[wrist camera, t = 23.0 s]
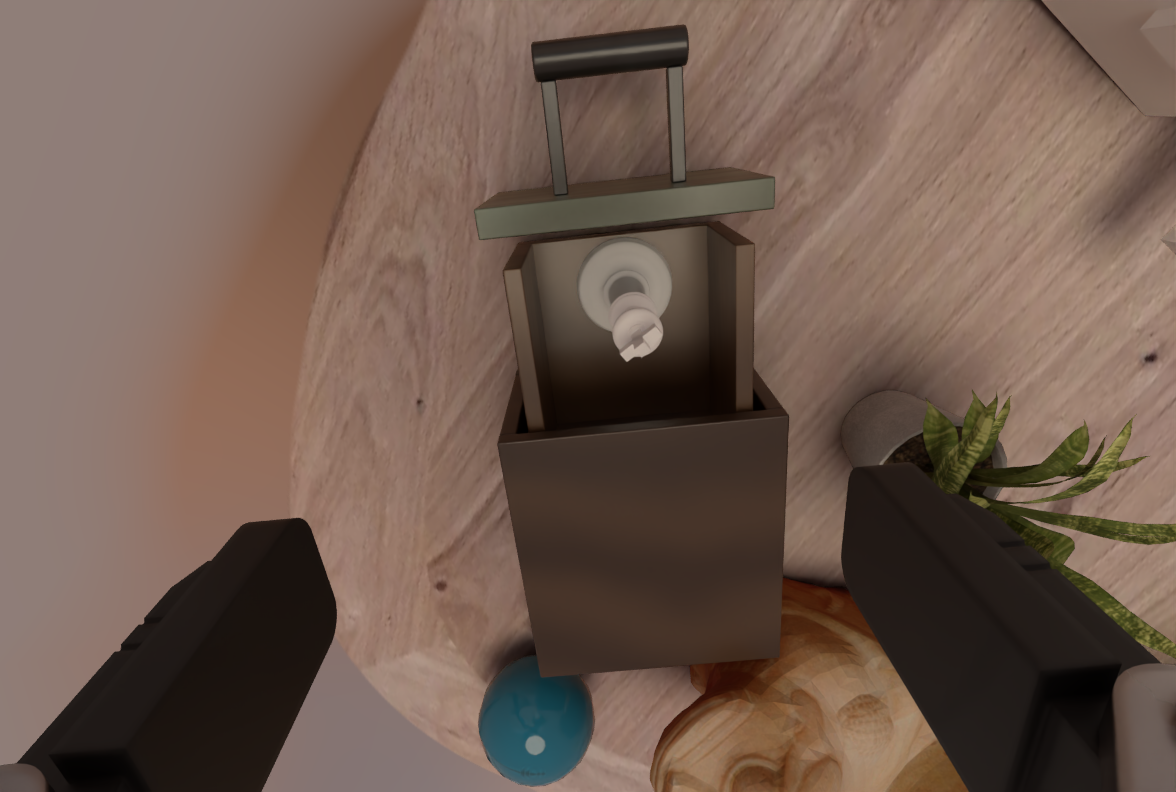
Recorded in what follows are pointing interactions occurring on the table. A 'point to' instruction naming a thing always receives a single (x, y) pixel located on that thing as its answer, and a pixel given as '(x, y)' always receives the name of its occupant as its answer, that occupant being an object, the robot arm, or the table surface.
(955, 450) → the house plant
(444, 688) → the table surface
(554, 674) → the cabinet
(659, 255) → the chess piece
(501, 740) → the ball
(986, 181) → the table surface
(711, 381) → the drawer
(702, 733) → the ceramic vessel
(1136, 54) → the white voxel figure
